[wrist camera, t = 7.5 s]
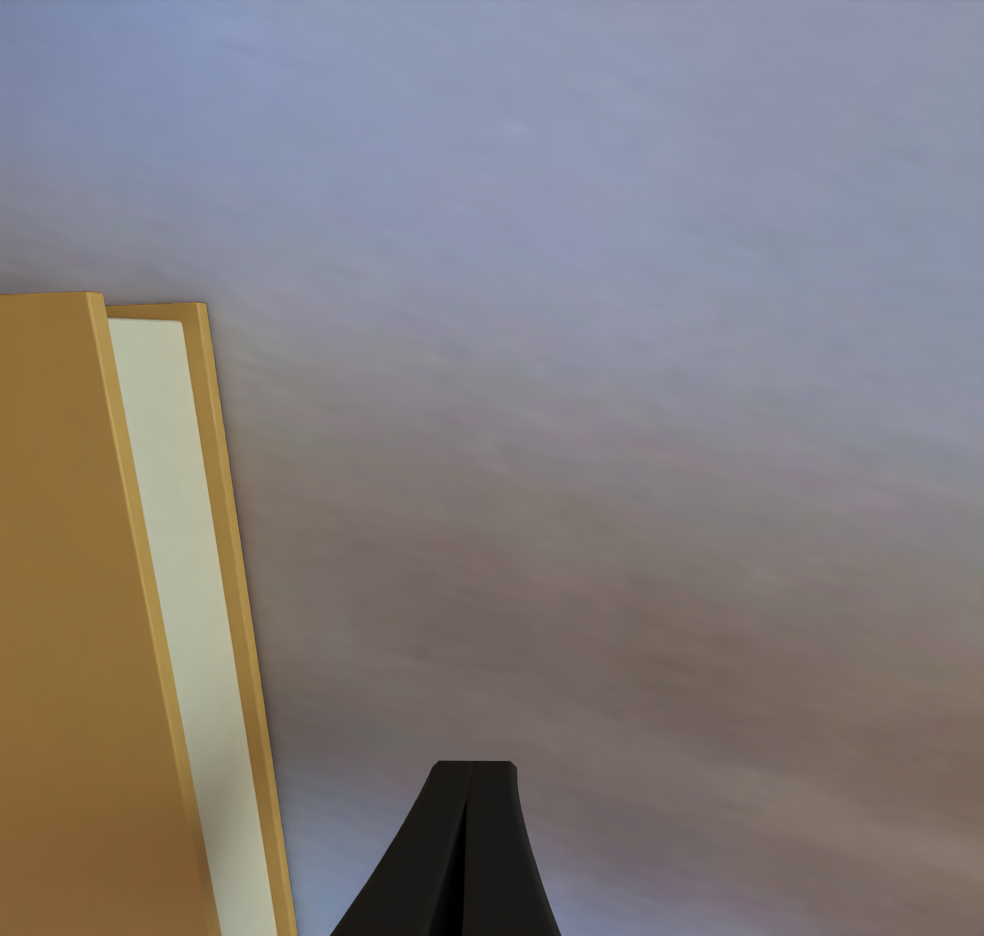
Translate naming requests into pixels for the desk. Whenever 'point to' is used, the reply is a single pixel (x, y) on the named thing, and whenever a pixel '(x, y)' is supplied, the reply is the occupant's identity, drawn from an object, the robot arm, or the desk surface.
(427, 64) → the desk surface
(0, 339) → the book
